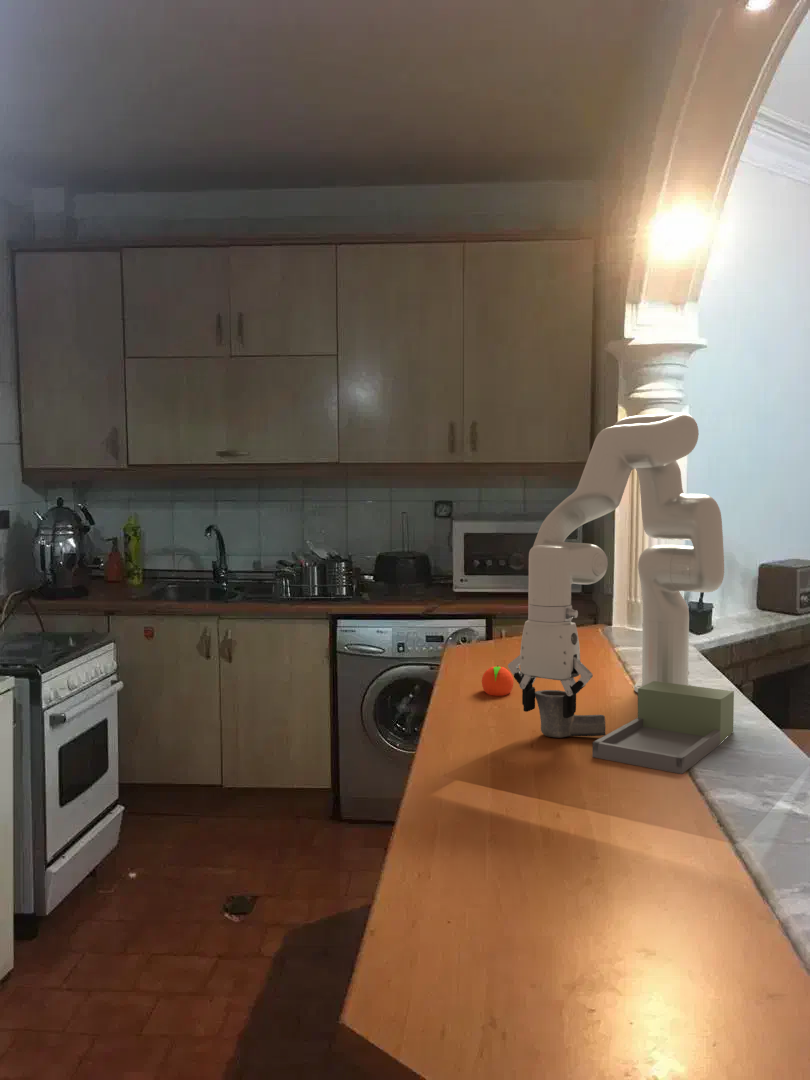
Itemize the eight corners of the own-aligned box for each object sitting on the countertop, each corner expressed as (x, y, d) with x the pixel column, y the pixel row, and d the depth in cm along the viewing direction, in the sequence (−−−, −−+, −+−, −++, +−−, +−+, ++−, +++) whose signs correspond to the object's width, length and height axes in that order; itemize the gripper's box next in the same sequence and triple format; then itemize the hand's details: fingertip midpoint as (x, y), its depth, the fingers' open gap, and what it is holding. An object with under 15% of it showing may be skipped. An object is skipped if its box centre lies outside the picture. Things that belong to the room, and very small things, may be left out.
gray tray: (653, 722, 164) (653, 681, 164) (733, 734, 155) (733, 691, 155) (592, 757, 142) (592, 709, 141) (682, 774, 133) (682, 723, 133)
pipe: (605, 743, 150) (606, 698, 150) (532, 739, 153) (533, 695, 153) (604, 734, 156) (605, 691, 156) (534, 730, 159) (535, 687, 159)
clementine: (511, 703, 180) (512, 670, 180) (479, 701, 181) (479, 668, 181) (514, 695, 188) (514, 663, 187) (483, 693, 189) (483, 661, 189)
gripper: (604, 616, 149) (603, 716, 150) (516, 608, 159) (516, 702, 160) (586, 620, 143) (584, 725, 144) (496, 612, 153) (495, 710, 154)
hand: (548, 712), depth 152 cm, fingers open, 7 cm apart
